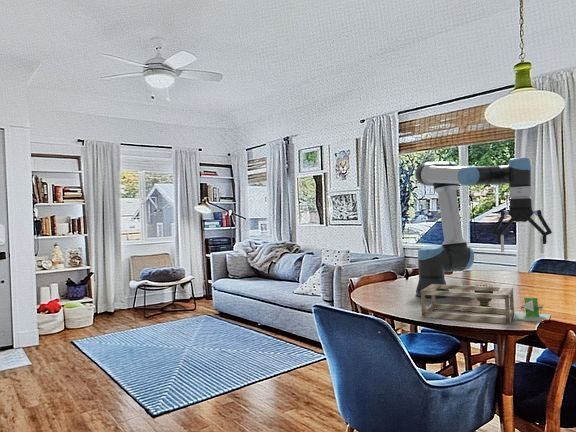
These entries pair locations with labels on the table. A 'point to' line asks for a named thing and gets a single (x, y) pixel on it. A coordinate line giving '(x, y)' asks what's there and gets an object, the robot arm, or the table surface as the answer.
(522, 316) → the felt pad
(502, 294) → the crate
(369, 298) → the table surface
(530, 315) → the geometric puzzle
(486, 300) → the cup
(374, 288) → the table surface
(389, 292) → the table surface
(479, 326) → the table surface
